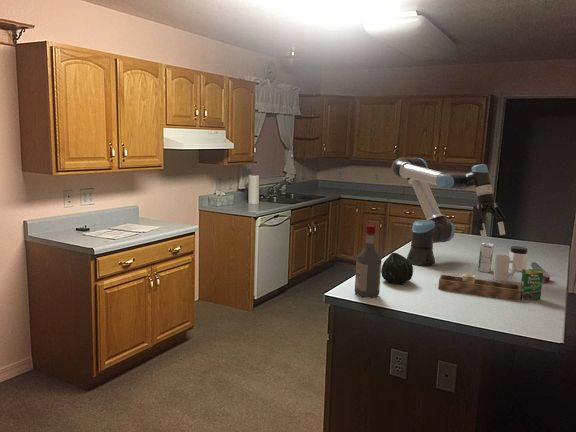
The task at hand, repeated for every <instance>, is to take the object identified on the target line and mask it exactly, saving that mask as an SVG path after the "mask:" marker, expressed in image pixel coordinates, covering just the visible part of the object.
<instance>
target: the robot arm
mask: <svg viewBox="0 0 576 432" xmlns="http://www.w3.org/2000/svg"><path fill="white" fill-rule="evenodd" d="M391 172H392V174H393V175H394V176H395V177H397V178H403V179H406V180H407V183H408V184H411V186H412V189H413V190H414V193H415V195H416V197H417V200H418V202H419V205H420V206H421V210H422V212H423V214H424V216H425V218H426V219H418V220H415V221H414V222H413V223H412V228H411V239H410V240H411V241H410V243H411V244H410V249H409V251H408V254H407V256H406V259H408V260H409V261H410V262H411V263H412V265H414V266H423V267H424V266H427V267H428V266H429V267H430V266H434V265H435V264H436V260H435V255H434V251H433V249H434V244H438V243H439V244H440V243H447V242H449V241H451V240H452V239H453V238H454V237H455V234H456V233H455V232H456V228H455V225H454V223H453V222H451V221H450V220H448V219H447V217H446V215H444V214H442V213H441V211H440V208H439V206H438V203H437V201H436V199H435V197H434V195H433V191H432V190H431V187H430V185H429V184H431V185H433V186H437V187H438V188H439V189H442V190H451V189H455V190H457V191H462V190H466V189H469V188H472V187H474V186H475V191H476V196H477V200H478V201H477V202H478V204H476V205H475V215H474V221H473V222H474V224H476V225H478V230H479V232H480V236H481V238H486V237H488V236H487V230H486V227H485V223H484V220H485V219H486V216H487V214H488V213H489V214H491V215H492V216H493V217H494V218H495V220H496V221H497V227H498V232H499V235H500V236H503V235H506V230H505V223H504V222H506V220H507V217H506V216H505V214H504V213H503V211H502V209H501V208H500V205H499V203H498V202H495V203H494V201H495V196H494V194H493V188H492V183H491V178H490V172H489V169H488V166H487V164H485V163H481V164H476V165H473V166H472V167H471V171H469V172H466V173H461V174H459V173H454V174H453V173H452V174H451V173H446V172H443V171H438V170H434V169H430V168H429V167H428V163H427V162H426V161H425V159H423V158H420V157H398V158H396V159H395V160H394V161H393V162H392V165H391Z"/></svg>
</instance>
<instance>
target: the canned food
mask: <svg viewBox="0 0 576 432" xmlns="http://www.w3.org/2000/svg"><path fill="white" fill-rule="evenodd" d="M530 266H531V269H541V270H543V279H542V284H547V283H548V284H549V283H550V277H551V276H550V274H549V272H547V271H546V270H545V269H544V268H542V267H541V265H539V264H538V263H537V262H536V261H535V262H534V261H532V262H531V264H530Z"/></svg>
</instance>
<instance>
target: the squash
mask: <svg viewBox="0 0 576 432" xmlns="http://www.w3.org/2000/svg"><path fill="white" fill-rule="evenodd" d="M413 274H414V266H413V264H412V263H411V262H410V261H409V260H408V259H407V257H405V256H403V255H402V254H400V253H397V252H391V253H390V255H388V257H386V259H385V260H384V261H383V263H382V264H381V278H382V279H383V280H385V281H386V282H388V283H389V284H390V283H391V284H393V283H394V284H395V285H398V284H400V285H405V284H406V282H409V281H411V280H412V277H413Z"/></svg>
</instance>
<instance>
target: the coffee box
mask: <svg viewBox="0 0 576 432" xmlns="http://www.w3.org/2000/svg"><path fill="white" fill-rule="evenodd" d="M521 272H522V273H521V282H520V283H521V284H520V288H521V296H520V299H522V300H538V301H539V300H541V298H542V287H543V283H542V279H543V270H541V269H533V268H528V269H527V268H526V269H523V271H521Z"/></svg>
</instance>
